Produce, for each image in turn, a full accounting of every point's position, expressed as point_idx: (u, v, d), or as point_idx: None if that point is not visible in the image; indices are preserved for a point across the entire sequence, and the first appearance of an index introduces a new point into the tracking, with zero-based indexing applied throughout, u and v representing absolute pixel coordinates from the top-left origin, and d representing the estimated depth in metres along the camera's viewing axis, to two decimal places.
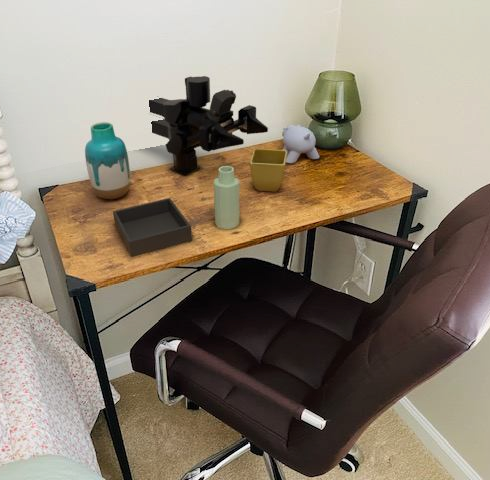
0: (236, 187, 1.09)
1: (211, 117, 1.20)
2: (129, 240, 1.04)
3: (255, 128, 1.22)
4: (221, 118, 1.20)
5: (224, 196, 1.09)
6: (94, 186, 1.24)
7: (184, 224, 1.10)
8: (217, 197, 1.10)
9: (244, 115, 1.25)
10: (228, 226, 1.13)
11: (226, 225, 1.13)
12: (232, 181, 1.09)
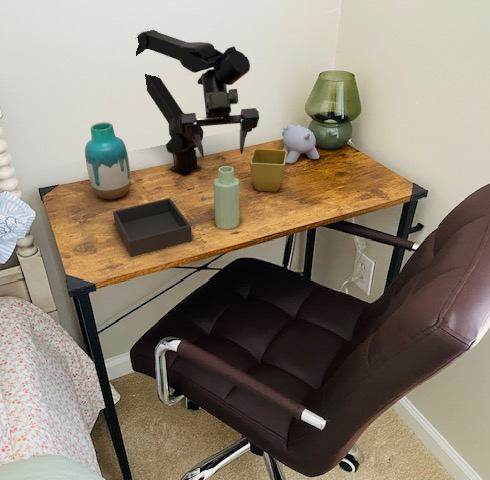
0: (236, 187, 1.09)
1: (205, 104, 1.14)
2: (129, 240, 1.04)
3: (240, 139, 1.16)
4: (212, 113, 1.14)
5: (224, 196, 1.09)
6: (94, 186, 1.24)
7: (184, 224, 1.10)
8: (217, 197, 1.10)
9: None
10: (228, 226, 1.13)
11: (226, 225, 1.13)
12: (232, 181, 1.09)
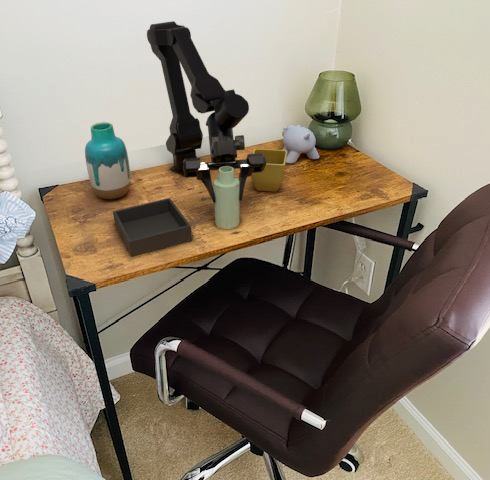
0: (236, 187, 1.09)
1: (210, 149, 1.10)
2: (129, 240, 1.04)
3: (239, 185, 1.13)
4: (217, 158, 1.10)
5: (224, 196, 1.09)
6: (94, 186, 1.24)
7: (184, 224, 1.10)
8: (217, 197, 1.10)
9: None
10: (228, 226, 1.13)
11: (226, 225, 1.13)
12: (232, 181, 1.09)
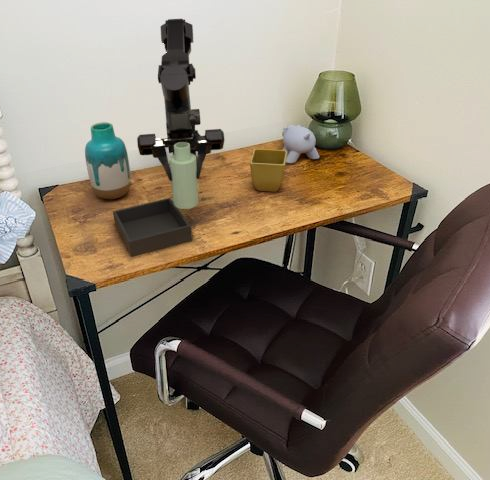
0: (192, 164, 1.03)
1: (166, 125, 1.05)
2: (129, 240, 1.04)
3: None
4: (173, 134, 1.05)
5: (180, 173, 1.04)
6: (94, 186, 1.24)
7: (184, 224, 1.10)
8: (173, 175, 1.05)
9: None
10: (186, 206, 1.08)
11: (184, 205, 1.08)
12: (188, 158, 1.04)
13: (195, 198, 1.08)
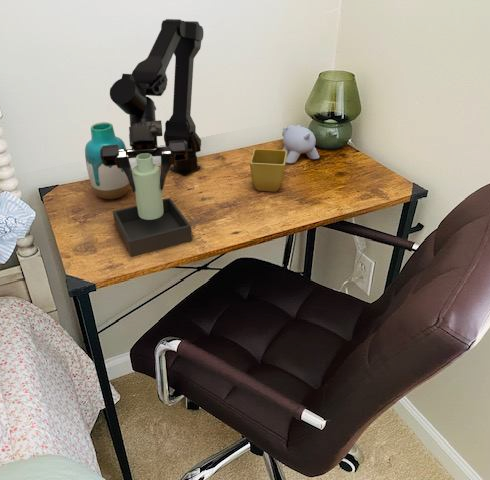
0: (155, 175, 1.03)
1: (129, 136, 1.05)
2: (129, 240, 1.04)
3: None
4: (136, 145, 1.05)
5: (142, 185, 1.03)
6: (94, 186, 1.24)
7: (184, 224, 1.10)
8: (136, 186, 1.05)
9: None
10: (150, 217, 1.08)
11: (148, 216, 1.08)
12: (151, 169, 1.03)
13: (159, 209, 1.08)
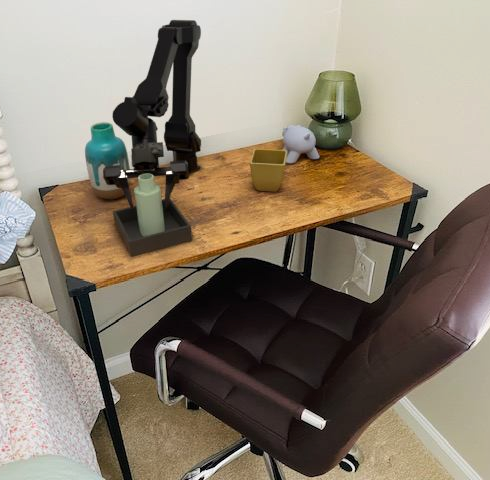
0: (156, 195, 1.06)
1: (131, 156, 1.08)
2: (129, 240, 1.04)
3: None
4: (138, 165, 1.08)
5: (144, 204, 1.06)
6: (94, 186, 1.24)
7: (184, 224, 1.10)
8: (138, 205, 1.07)
9: None
10: None
11: (149, 234, 1.10)
12: (152, 189, 1.06)
13: (160, 227, 1.11)
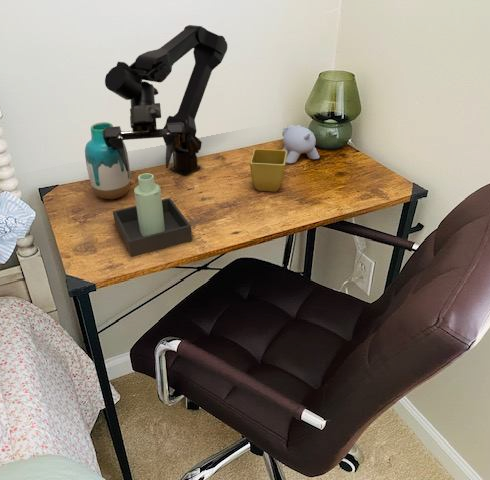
0: (156, 195, 1.06)
1: (130, 118, 1.13)
2: (129, 240, 1.04)
3: None
4: (136, 126, 1.12)
5: (144, 204, 1.06)
6: (94, 186, 1.24)
7: (184, 224, 1.10)
8: (138, 205, 1.07)
9: None
10: None
11: (149, 234, 1.10)
12: (152, 189, 1.06)
13: (160, 227, 1.11)
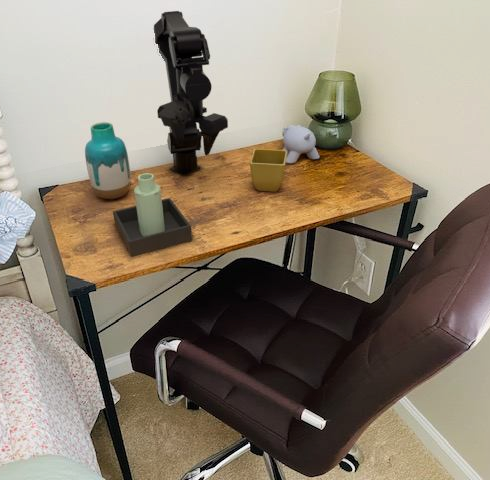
0: (156, 195, 1.06)
1: None
2: (129, 240, 1.04)
3: None
4: None
5: (144, 204, 1.06)
6: (94, 186, 1.24)
7: (184, 224, 1.10)
8: (138, 205, 1.07)
9: None
10: None
11: (149, 234, 1.10)
12: (152, 189, 1.06)
13: (160, 227, 1.11)
